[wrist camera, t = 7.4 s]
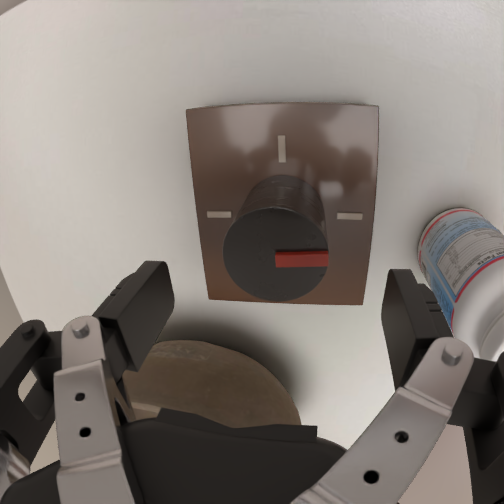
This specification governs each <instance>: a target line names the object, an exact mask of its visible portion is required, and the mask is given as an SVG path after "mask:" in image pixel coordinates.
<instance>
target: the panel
mask: <svg viewBox="0 0 504 504" xmlns="http://www.w3.org/2000/svg"><path fill="white" fill-rule="evenodd" d="M186 118H187V129H188V140H189V150H190V160H191V169H192V178H193V187H194V195H195V204H196V212H197V220H198V227H199V235H200V242H201V250H202V257H203V264H204V271H205V278H206V284H207V291H208V297H209V299H211V300H227V301H245V302H265V303H289V304H321V305H363V300H364V294H365V287H366V280H367V273H368V266H369V258H370V250H371V241H372V232H373V222H374V211H375V199H376V184H377V167H378V141H379V106H376V105H369V104H355V103H332V102H271V103H247V104H231V105H219V106H207V107H199V108H193V109H187V110H186ZM280 175H286V176H293V177H296V178H299V179H301V180H303V181H305V182H307V183H308V184H309V185H311V186H312V187H313V188H314V189H315V191H316V192H317V193H318V195H319V196H320V198H321V201H322V203H323V207H324V214H325V222H326V230H327V238H328V247H329V265H328V268H327V271H326V273H325V275H324V277H323V279H322V280H321V282H320V283H319V284H318V285H317V286H316V287H315V288H314V289H313V290H312V291H311V292H309V293H308V294H306V295H304V296H302V297H300V298H297V299H294V300H290V301H281V302H276V301H267V300H263V299H259V298H257V297H254V296H252V295H250V294H248V293H247V292H245V291H244V290H242V289H241V288H240V287H239V286H238V285H237V284H236V283H235V282H234V281H233V280H232V278H231V277H230V276H229V274H228V272H227V270H226V267H225V265H224V261H223V254H222V249H223V242H224V238H225V236H226V233H227V231H228V230H229V228H230V226H231V224H232V222H233V221H234V219H235V217H236V215H237V214H238V212H239V210H240V208H241V207H242V205H243V203H244V201H245V200H246V198H247V196H248V194H249V193H250V191H251V190H252V189H253V188H254V187H255V186H256V185H257V184H258V183H260V182H261V181H263V180H265V179H267V178H269V177H273V176H280Z"/></svg>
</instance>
